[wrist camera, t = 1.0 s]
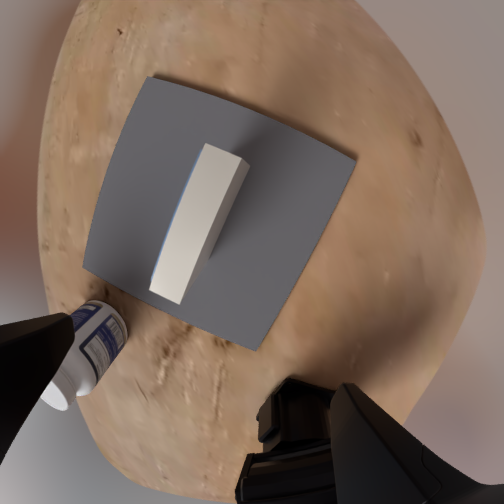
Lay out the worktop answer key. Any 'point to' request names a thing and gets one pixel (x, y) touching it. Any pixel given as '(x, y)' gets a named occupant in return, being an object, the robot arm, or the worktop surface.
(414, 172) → the worktop surface
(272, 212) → the mat
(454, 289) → the worktop surface
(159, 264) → the tile
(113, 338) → the pill bottle
